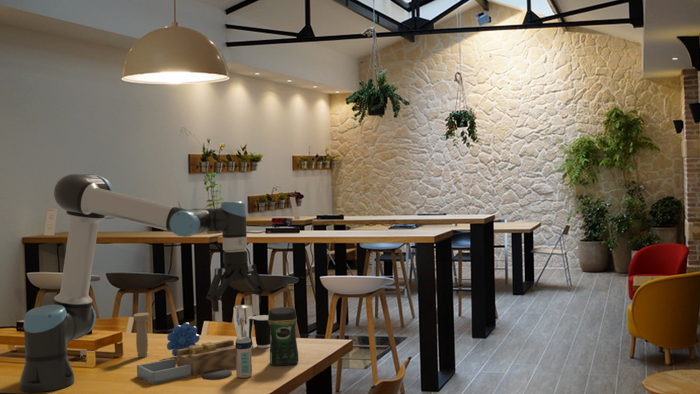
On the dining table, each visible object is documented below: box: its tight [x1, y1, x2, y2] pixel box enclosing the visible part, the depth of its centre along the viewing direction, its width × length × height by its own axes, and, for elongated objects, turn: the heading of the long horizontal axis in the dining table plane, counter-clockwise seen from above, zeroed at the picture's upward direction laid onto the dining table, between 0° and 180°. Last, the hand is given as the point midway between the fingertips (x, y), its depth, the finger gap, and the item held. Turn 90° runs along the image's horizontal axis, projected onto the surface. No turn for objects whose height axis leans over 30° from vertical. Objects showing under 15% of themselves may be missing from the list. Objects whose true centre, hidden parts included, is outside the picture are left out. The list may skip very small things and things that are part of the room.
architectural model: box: [79, 350, 86, 357], centre depth 238 cm, size 3×7×7 cm, turn 0°
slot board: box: [176, 339, 236, 376], centre depth 220 cm, size 20×12×6 cm, turn 129°
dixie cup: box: [253, 314, 270, 349], centre depth 245 cm, size 8×8×11 cm
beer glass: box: [233, 304, 255, 349], centre depth 244 cm, size 7×7×15 cm
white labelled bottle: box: [234, 337, 253, 379], centre depth 206 cm, size 5×5×12 cm
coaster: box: [202, 369, 233, 380], centre depth 208 cm, size 9×9×1 cm
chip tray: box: [136, 357, 192, 385], centre depth 209 cm, size 12×12×4 cm
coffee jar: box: [268, 306, 299, 367], centre depth 221 cm, size 10×8×19 cm
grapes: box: [166, 322, 201, 357], centre depth 234 cm, size 12×7×12 cm, turn 89°
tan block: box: [201, 342, 216, 353], centre depth 219 cm, size 3×4×3 cm
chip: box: [189, 344, 203, 355], centre depth 216 cm, size 3×4×3 cm
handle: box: [133, 312, 150, 359], centre depth 234 cm, size 5×6×15 cm
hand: (237, 318), depth 208 cm, fingers open, 13 cm apart
